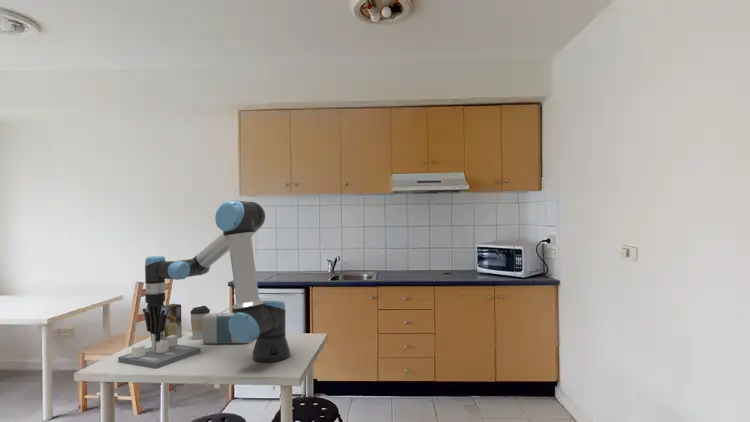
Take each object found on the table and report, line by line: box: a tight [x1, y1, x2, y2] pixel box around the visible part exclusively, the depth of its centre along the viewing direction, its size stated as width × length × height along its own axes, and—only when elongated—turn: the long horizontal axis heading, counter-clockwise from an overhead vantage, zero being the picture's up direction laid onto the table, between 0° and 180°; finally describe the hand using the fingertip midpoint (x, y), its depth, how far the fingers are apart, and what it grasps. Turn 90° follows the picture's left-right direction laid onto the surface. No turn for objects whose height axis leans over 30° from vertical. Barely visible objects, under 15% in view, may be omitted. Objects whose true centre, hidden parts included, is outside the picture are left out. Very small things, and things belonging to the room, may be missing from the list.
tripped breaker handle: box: [156, 340, 169, 353], centre depth 180 cm, size 3×4×4 cm
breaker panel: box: [117, 344, 202, 370], centre depth 180 cm, size 22×22×2 cm
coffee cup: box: [189, 305, 211, 341], centre depth 210 cm, size 9×9×15 cm
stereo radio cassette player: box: [202, 305, 247, 345], centre depth 201 cm, size 21×8×20 cm, turn 88°
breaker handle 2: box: [166, 335, 179, 347], centre depth 189 cm, size 3×4×4 cm
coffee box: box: [160, 303, 183, 341], centre depth 210 cm, size 9×6×16 cm
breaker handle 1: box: [131, 344, 146, 358], centre depth 174 cm, size 3×4×4 cm
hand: (155, 348), depth 181 cm, fingers closed
